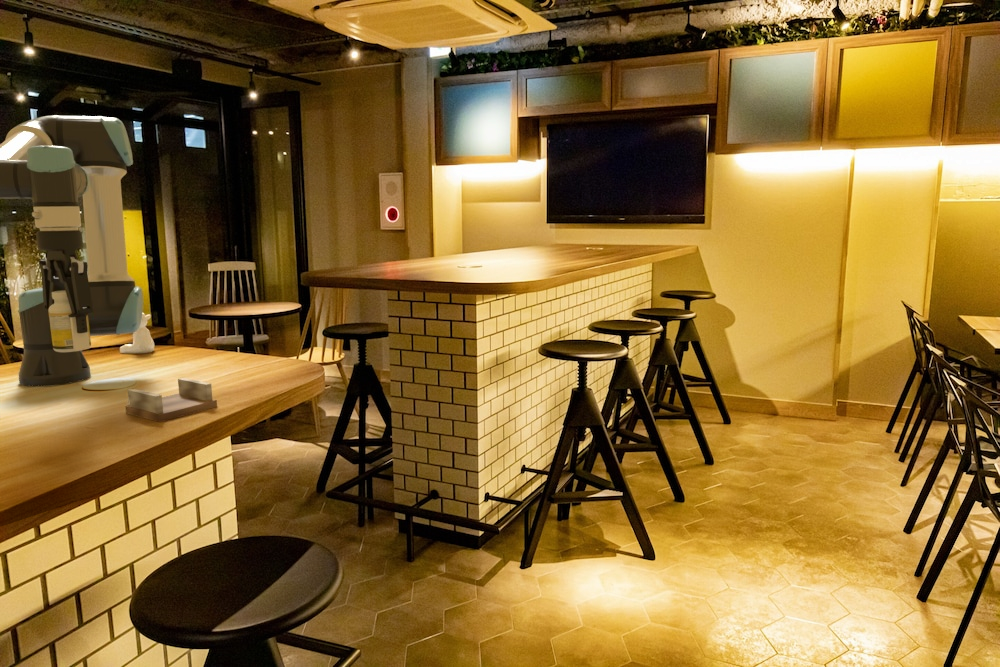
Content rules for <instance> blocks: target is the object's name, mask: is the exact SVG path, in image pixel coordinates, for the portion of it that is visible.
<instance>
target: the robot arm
mask: <svg viewBox="0 0 1000 667" xmlns="http://www.w3.org/2000/svg"><path fill="white" fill-rule="evenodd" d="M126 129H127V128H126V127H125V125H124V123H123V121H122V120H120V119H119V118H117V117H109V116H108V117H107V116H102V115H97V116H96V115H95V116H91V115H89V116H88V115H57V114H54V115H53V114H52V115H45V116H39V117H36V118H32V119H29V120H27V121H24V122H21V123H20V124H17V125H16V126H14V127H12V129H10V130H9V131H8V133H7V134H6V137H5V140H4V141H3V142H2V143H0V200H1V199H2V200H4V199H5V200H8V199H11V200H14V199H15V200H16V199H22V200H23V199H24V200H25V199H31V200H32V206H33V211H32V212H31V216H32V217H33V218H34V223H35V224H34V226H35V228H37V229H39V230H37V231H36V233H35V235H36V243H37V249H38V250H39V251H42V252H46V259H40V260H38V265H39V269H40V272H41V285H42V286H41V287H38V288H33V289H29V290H25V291H22V292H20V294H19V295H18V298H17V299H18V300H17V301H18V302H17V303H18V311H17V313H18V314H19V320H20V329H21V330H20V331H21V337H22V344H23V355H22V360H21V364H20V367H19V372H18V382H19V385H20V386H24V387H50V386H59V385H65V384H72V383H77V382H80V381H84V380H87V379H89V378H90V377H91V376H92V375H91V373H92V372H91V367H90V365H89V363H88V361H87V358H86V357H85V356H84V355H85V354H84V353H83V351H84V350H83V349H86V350H89V349H91V346H90V344H89V335H88V326H87V317H86V316H87V315H88V322H89V330H90V337H92V336H109V335H111V336H113V335H117V336H120V335H125V334H133V332H135V331H137V330H138V328H139V327H140V324H141V319H142V313H144V312H143V310H144V295H143V294H144V293H143V292H144V291H143V289H142V287H139V286H136V281H135V279H134V278H133V277H131V276H130V275H129V273H128V263H127V262H128V260H127V248H126V237H125V223H124V220H125V219H124V211H123V210H124V208H123V197H122V183H121V182H122V181H121V180H122V178H124V176H126V174H127V173H128V172H127V171H128V170H127V167H131V165H133V164H134V160H133V152H132V147H131V143H130V139H129V136H128V132H127V130H126ZM80 197H82V204H83V206H82V207H83V216H84V219H83V220H84V230H85V242H86V245H85V246H86V254H87V261H80V260H79V257H78V255H77V251H78V250H82V249H83V248H84V239H83V233H82V231H81V230H80V229H79V228H81V227H82V219H81V210H80V209H81V208H80V206H79V198H80ZM62 290H66V294H67V298H68V301H69V305H70V308H71V312H72V314H70V315H68V316H69V317H70V323H71V331H72V340H73V349H74V350H75V352H56V351H55V350H54V349H53V343H52V336H51V328H50V320H49V311H48V310H49V307H50V306H51V305H53V304H54V299H53V298H52V292H54V291H62ZM77 350H82V351H77Z"/></svg>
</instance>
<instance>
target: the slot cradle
mask: <svg viewBox="0 0 1000 667" xmlns="http://www.w3.org/2000/svg"><path fill="white" fill-rule="evenodd" d="M177 384H178V393H175V394H171V395H168V396H167V395H166V396H162V394H158V393H154V392H150V391H144V390H139V389H136V388H131V389H127V394H128V404H129V405H126V406H125V407H124V408H125V413H126V414H128V415H132V416H136V417H139V418H142V417H143V418H142V419H147V420H151V421H154V422H157V421H158V423H162V422H166V421H170V420H173V419H176V418H180V417H185V416H189V415H191V414H196V413H198V412H199V413H200V412H203V411H207V410H210V409H213V408H217V407H218V400H217V399H214V398H213V389H212V388H213V387H212V383H211V382H205V381H200V380H195V379H190V378H185V377H181V378H178V379H177ZM161 421H162V422H161Z"/></svg>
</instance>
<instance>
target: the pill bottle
mask: <svg viewBox="0 0 1000 667" xmlns="http://www.w3.org/2000/svg"><path fill="white" fill-rule="evenodd" d="M52 298H53V299H54V304H53V305H51V306H50V307H49V310H48V311H49V320H50V328H51V336H52V343H53V349H54V350H55V351H56V352H75V350H74V349H73V340H72V331H71V323H70V317H69V316H68V315H70V314H72V312H71V308H70V305H69V301H68V298H67V294H66V290H62V291H54V292H52ZM86 317H87V326H88V335H89V344H90V347H91V346H92V340H91V336H90V330H89V322H88V315H87V316H86ZM85 350H87V349H83V350H77V351H82V352H83V351H85Z"/></svg>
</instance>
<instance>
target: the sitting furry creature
mask: <svg viewBox="0 0 1000 667" xmlns="http://www.w3.org/2000/svg"><path fill="white" fill-rule="evenodd" d="M151 317H152V315H151V314H145V313H144V312H142V319H141V324H140V327H139V328H138V330H137V331H135V332H133V333H132V336H131V337H132V343H128V344H124V345H122V346H120V347H119V352H120V353H121V354H148V353H152V352H154V350H155V342H154V339H153V338H152V336H151V331H150V330H149V329H148V328H147V324H148V320H150V319H151Z"/></svg>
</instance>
